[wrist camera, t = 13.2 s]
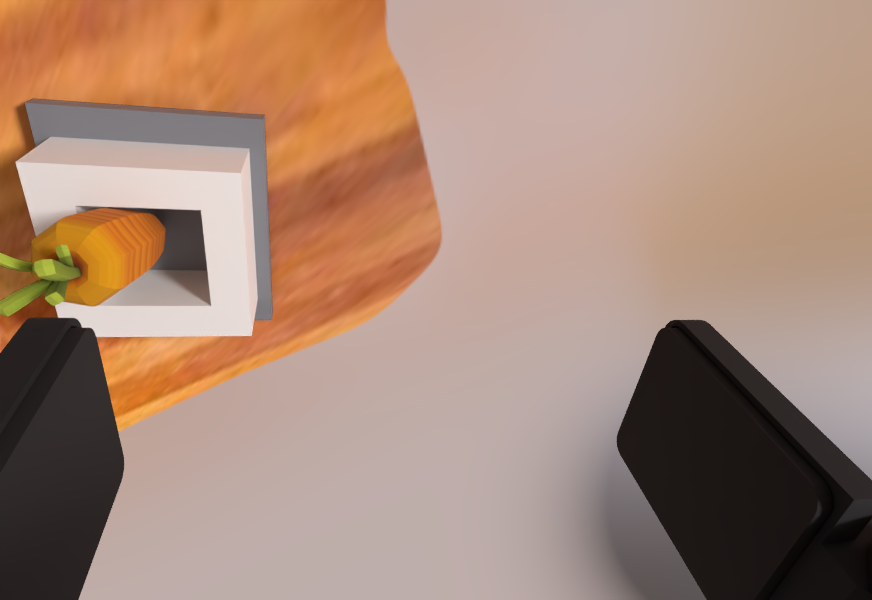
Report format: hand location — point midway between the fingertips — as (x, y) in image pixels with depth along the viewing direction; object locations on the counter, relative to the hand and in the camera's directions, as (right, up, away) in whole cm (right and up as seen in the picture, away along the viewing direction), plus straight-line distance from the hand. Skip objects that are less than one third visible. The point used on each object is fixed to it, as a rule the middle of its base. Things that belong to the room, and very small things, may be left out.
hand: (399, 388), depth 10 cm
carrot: (-19, +7, +30) cm, 36 cm away
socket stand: (-19, +7, +31) cm, 37 cm away
